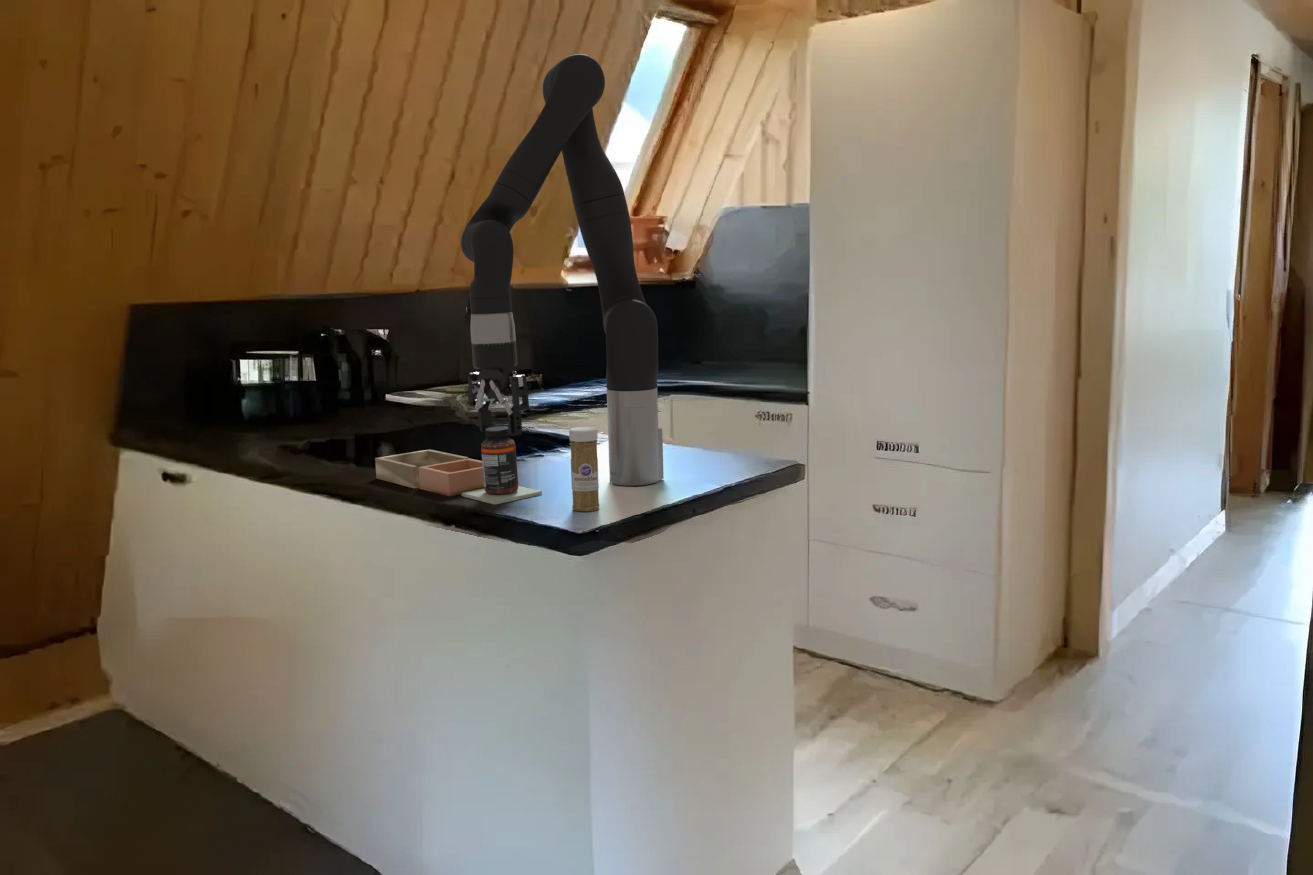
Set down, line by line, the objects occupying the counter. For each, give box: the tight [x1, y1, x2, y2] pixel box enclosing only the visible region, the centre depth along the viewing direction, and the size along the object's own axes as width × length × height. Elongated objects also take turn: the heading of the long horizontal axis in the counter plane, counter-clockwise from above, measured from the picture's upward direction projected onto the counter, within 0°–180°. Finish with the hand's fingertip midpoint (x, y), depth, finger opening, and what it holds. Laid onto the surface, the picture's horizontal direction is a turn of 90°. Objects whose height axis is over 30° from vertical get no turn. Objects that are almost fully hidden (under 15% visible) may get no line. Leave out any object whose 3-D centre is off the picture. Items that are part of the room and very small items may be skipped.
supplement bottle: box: [480, 426, 519, 495], centre depth 178 cm, size 6×6×11 cm
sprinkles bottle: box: [568, 426, 600, 513], centre depth 166 cm, size 5×5×13 cm
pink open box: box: [418, 458, 485, 497], centre depth 186 cm, size 11×10×4 cm
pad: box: [460, 485, 543, 505], centre depth 179 cm, size 10×10×1 cm
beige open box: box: [374, 449, 469, 489], centre depth 195 cm, size 12×14×4 cm
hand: (500, 433), depth 177 cm, fingers open, 8 cm apart
